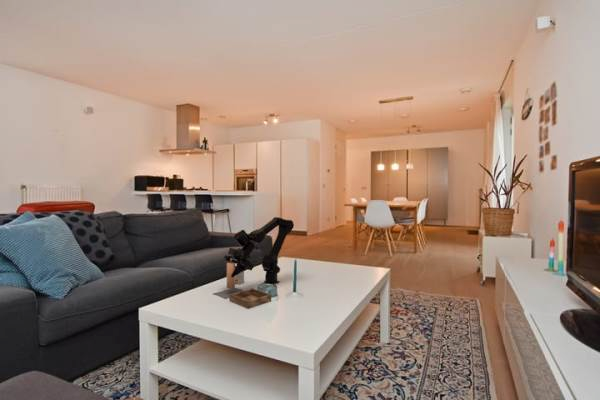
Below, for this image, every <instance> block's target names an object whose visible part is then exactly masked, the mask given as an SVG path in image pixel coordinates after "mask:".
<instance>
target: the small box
mask: <svg viewBox="0 0 600 400" xmlns="http://www.w3.org/2000/svg"><path fill="white" fill-rule="evenodd" d="M235 266H237V264H235ZM244 282H245V271H243V272H241V273H239V274H237V275H236V276H235V285H237V286H238V285H240V284H243V283H244Z"/></svg>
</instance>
